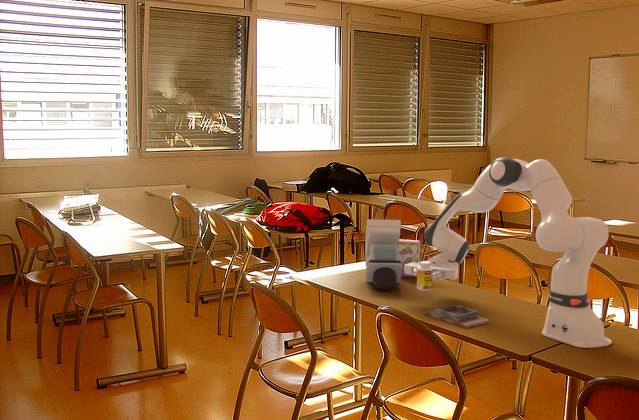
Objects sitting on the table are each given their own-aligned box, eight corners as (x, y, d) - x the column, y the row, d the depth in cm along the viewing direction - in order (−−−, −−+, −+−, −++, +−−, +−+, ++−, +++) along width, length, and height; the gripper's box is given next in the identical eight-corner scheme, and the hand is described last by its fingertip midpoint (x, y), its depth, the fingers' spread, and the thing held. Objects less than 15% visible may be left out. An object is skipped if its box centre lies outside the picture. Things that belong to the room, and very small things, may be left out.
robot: (400, 307, 287) (396, 251, 307) (404, 276, 271) (400, 220, 291) (365, 306, 287) (364, 251, 307) (368, 275, 271) (366, 219, 291)
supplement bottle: (423, 291, 250) (424, 264, 248) (413, 288, 254) (414, 261, 253) (435, 289, 253) (435, 262, 251) (424, 286, 257) (425, 260, 256)
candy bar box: (392, 276, 306) (393, 240, 304) (394, 274, 311) (395, 238, 308) (417, 278, 303) (418, 242, 301) (418, 275, 308) (420, 240, 306)
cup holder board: (489, 322, 238) (490, 314, 238) (466, 328, 231) (466, 319, 231) (447, 309, 254) (447, 301, 254) (424, 314, 247) (424, 306, 247)
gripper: (411, 257, 268) (398, 263, 256) (462, 262, 259) (450, 269, 247) (411, 272, 269) (397, 279, 257) (461, 278, 260) (450, 286, 247)
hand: (423, 274), depth 252 cm, fingers closed on supplement bottle, 5 cm apart
